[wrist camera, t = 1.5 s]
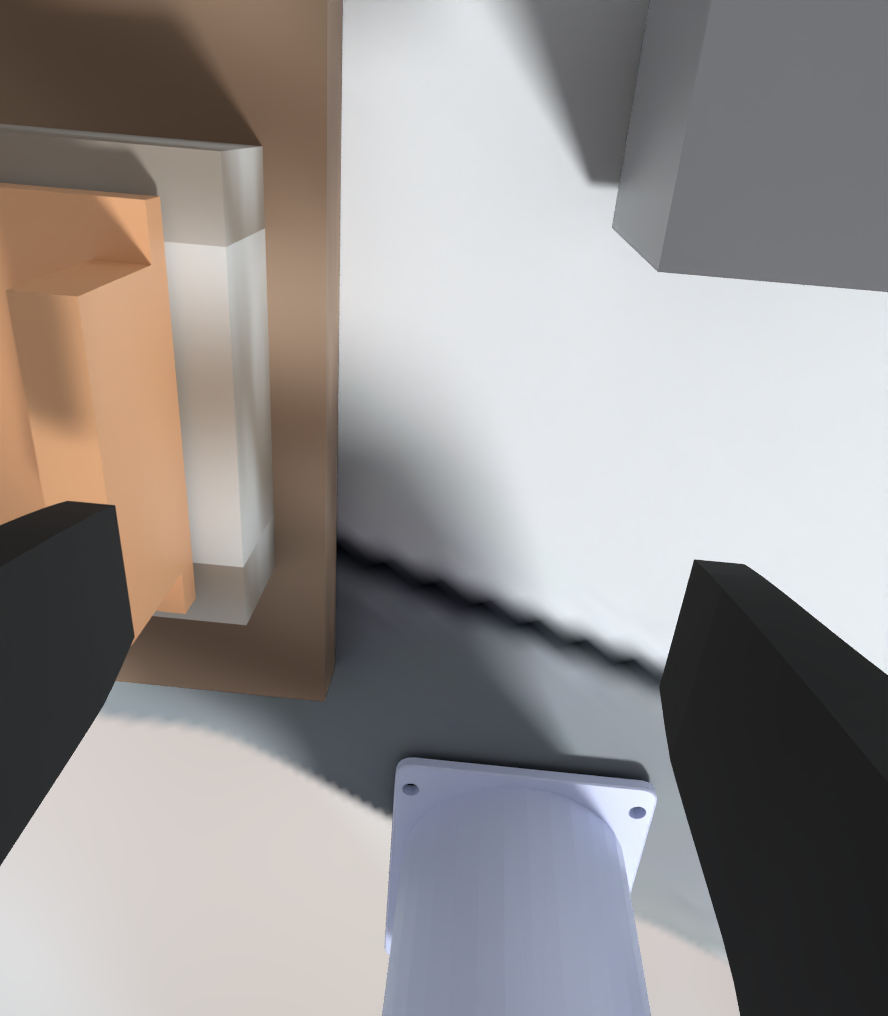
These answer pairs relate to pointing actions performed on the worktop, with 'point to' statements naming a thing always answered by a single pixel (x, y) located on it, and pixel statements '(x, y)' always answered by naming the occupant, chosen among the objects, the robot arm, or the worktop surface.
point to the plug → (761, 142)
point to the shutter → (94, 378)
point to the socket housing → (217, 290)
